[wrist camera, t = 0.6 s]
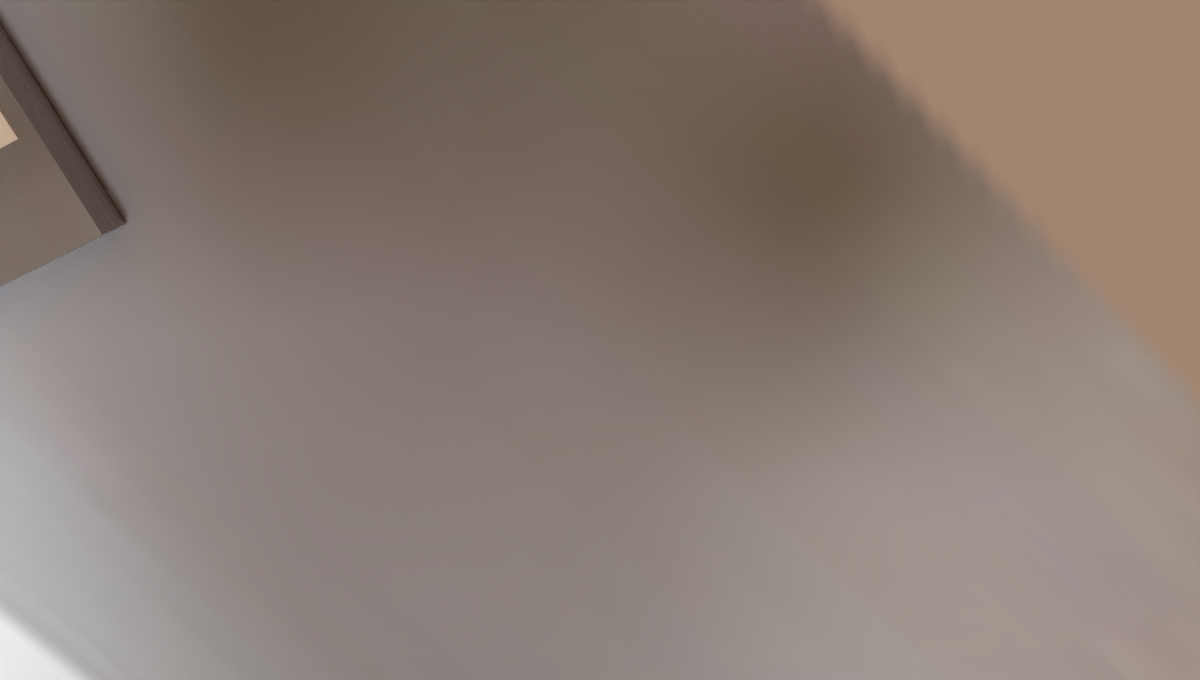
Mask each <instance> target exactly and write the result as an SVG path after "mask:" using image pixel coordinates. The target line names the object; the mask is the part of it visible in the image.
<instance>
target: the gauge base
mask: <svg viewBox="0 0 1200 680" xmlns="http://www.w3.org/2000/svg"><path fill="white" fill-rule="evenodd" d="M124 224H126V223H125V222H124V220H123V219H122V217H121V215H120V214H119V212H118V211H117V209H116V208H115V206H114V204H113V203H112V201H111V200H110V198H109V196H108V195H107V193H106V192H105V190H104V188H103V187H102V185H101V184H100V182H99V181H98V179H97V177H96V176H95V174H94V173H93V171H92V169H91V168H90V166H89V165H88V163H87V161H86V160H85V158H84V157H83V155H82V153H81V152H80V150H79V149H78V147H77V146H76V144H75V142H74V141H73V139H72V138H71V136H70V134H69V133H68V131H67V130H66V128H65V126H64V125H63V123H62V122H61V120H60V119H59V117H58V115H57V114H56V112H55V111H54V109H53V107H52V106H51V104H50V103H49V101H48V99H47V98H46V96H45V95H44V93H43V91H42V90H41V88H40V87H39V85H38V84H37V82H36V80H35V79H34V77H33V76H32V74H31V72H30V71H29V69H28V68H27V66H26V64H25V63H24V61H23V60H22V58H21V56H20V55H19V53H18V52H17V50H16V49H15V47H14V45H13V44H12V42H11V41H10V39H9V37H8V36H7V34H6V33H5V31H4V29H3V28H2V26H1V25H0V286H2V285H4V284H6V283H8V282H10V281H12V280H14V279H16V278H18V277H20V276H22V275H24V274H26V273H28V272H30V271H32V270H34V269H36V268H38V267H40V266H42V265H44V264H46V263H48V262H50V261H52V260H54V259H56V258H58V257H60V256H62V255H64V254H66V253H68V252H70V251H72V250H74V249H76V248H78V247H80V246H82V245H84V244H86V243H88V242H90V241H92V240H94V239H96V238H98V237H100V236H102V235H104V234H106V233H108V232H110V231H112V230H114V229H116V228H118V227H120V226H122V225H124Z"/></svg>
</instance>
